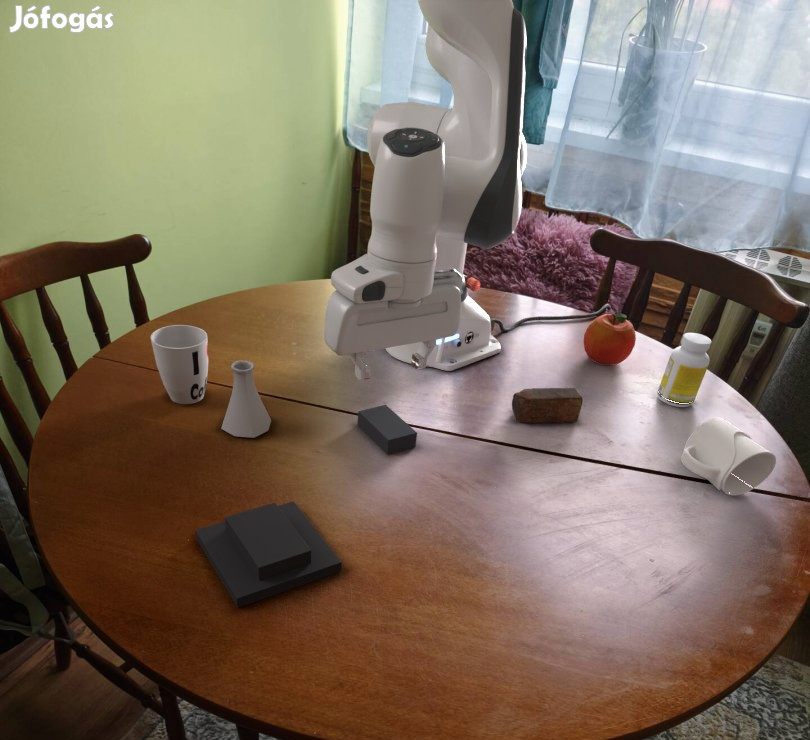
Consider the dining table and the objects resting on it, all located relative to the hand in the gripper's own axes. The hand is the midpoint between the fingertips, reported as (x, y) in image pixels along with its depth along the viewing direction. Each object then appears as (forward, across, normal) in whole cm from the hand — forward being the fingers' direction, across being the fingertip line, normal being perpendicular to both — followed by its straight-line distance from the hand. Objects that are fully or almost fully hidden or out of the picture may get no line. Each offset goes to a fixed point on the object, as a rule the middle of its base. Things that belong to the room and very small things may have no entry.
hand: (391, 372), depth 99 cm
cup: (+11, +22, -23) cm, 34 cm away
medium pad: (+10, +27, +17) cm, 33 cm away
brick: (+11, -27, +6) cm, 30 cm away
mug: (+11, -39, +31) cm, 51 cm away
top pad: (+11, 0, 0) cm, 11 cm away
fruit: (+10, -53, -6) cm, 55 cm away
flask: (+11, +18, -11) cm, 24 cm away
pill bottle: (+10, -54, +11) cm, 56 cm away
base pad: (+11, +27, +17) cm, 33 cm away
